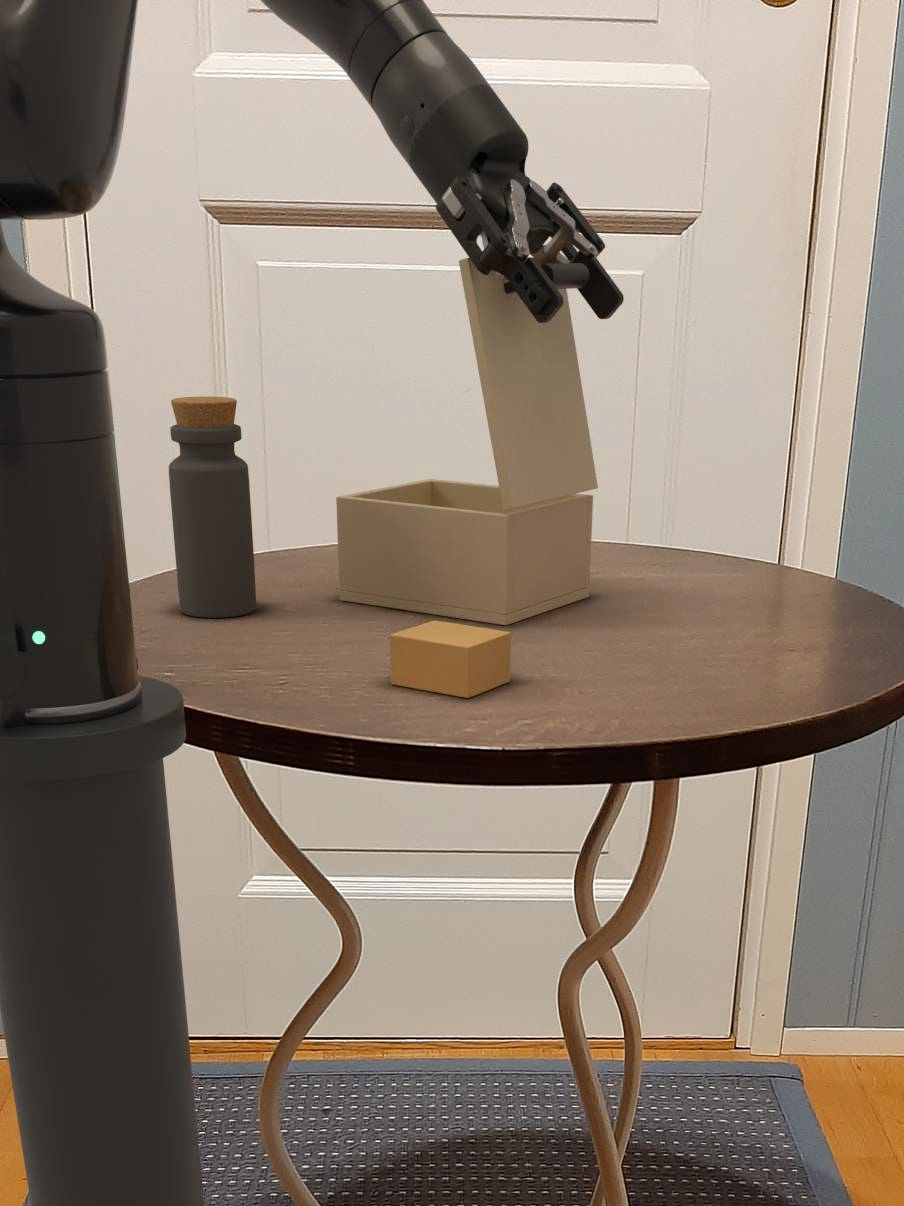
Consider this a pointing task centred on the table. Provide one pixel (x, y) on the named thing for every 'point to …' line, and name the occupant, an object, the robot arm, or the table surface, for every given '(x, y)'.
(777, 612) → the table surface
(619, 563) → the table surface
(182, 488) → the bottle
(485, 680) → the tan cardboard carton
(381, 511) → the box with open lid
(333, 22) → the robot arm
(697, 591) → the table surface
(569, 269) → the hinged handled lid
